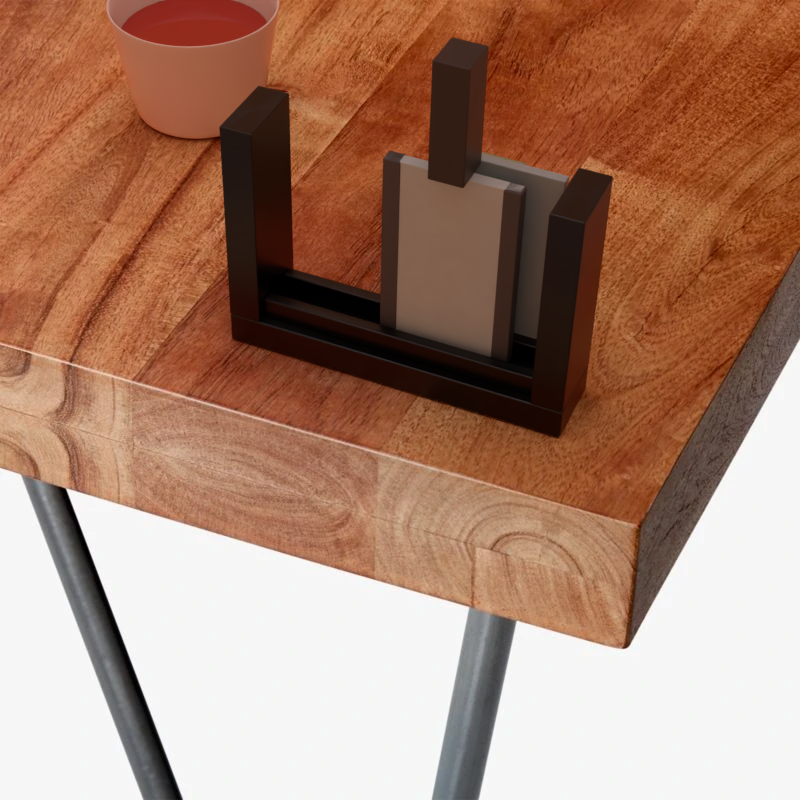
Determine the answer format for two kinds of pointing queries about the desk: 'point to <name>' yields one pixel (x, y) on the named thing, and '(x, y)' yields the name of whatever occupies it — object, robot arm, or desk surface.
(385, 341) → the window frame
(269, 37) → the candle
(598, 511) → the desk surface
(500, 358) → the sash
